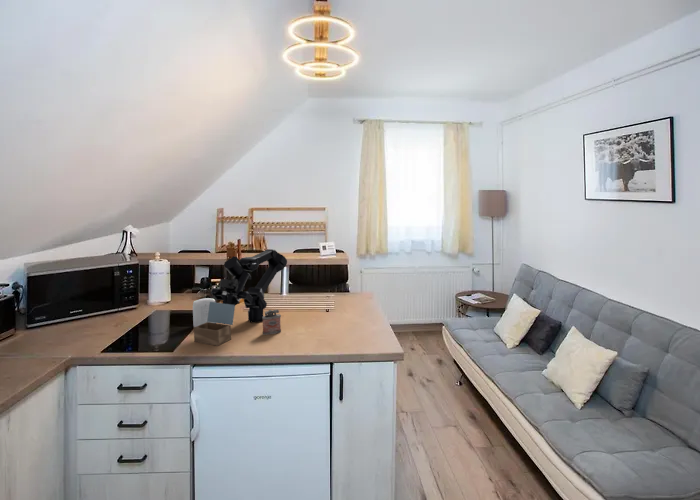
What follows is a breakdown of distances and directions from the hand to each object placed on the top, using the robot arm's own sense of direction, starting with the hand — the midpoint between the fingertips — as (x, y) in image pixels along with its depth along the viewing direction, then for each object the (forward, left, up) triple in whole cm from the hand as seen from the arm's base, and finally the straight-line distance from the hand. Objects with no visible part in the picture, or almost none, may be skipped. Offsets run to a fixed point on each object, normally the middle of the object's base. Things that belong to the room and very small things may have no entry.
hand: (223, 312), depth 178 cm
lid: (+1, +1, 0) cm, 2 cm away
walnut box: (+4, +5, -10) cm, 12 cm away
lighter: (-20, +2, -10) cm, 22 cm away
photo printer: (+8, -18, -10) cm, 22 cm away
